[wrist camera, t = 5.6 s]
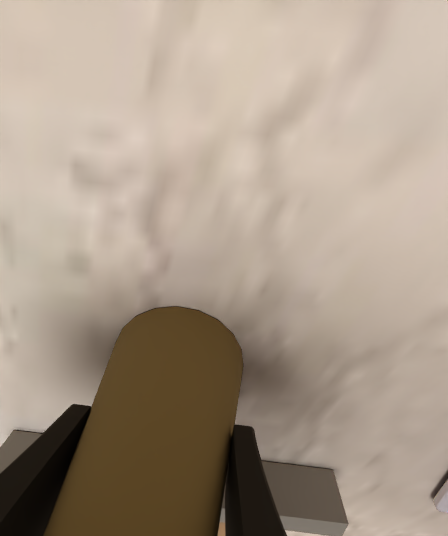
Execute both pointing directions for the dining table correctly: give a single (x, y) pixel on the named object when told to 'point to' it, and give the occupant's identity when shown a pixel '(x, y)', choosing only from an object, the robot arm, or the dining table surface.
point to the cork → (156, 432)
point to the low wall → (280, 483)
